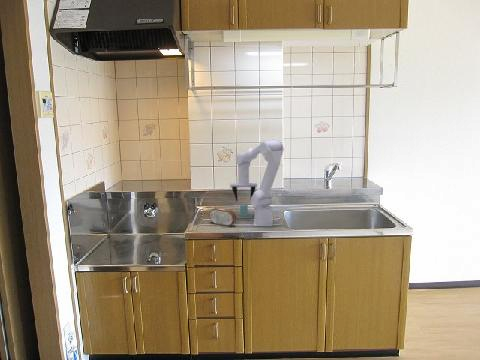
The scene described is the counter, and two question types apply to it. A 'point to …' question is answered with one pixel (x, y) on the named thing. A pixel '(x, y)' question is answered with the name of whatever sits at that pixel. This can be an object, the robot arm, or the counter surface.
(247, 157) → the robot arm
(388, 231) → the counter surface
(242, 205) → the block
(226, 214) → the tin
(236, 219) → the pad
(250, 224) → the counter surface
